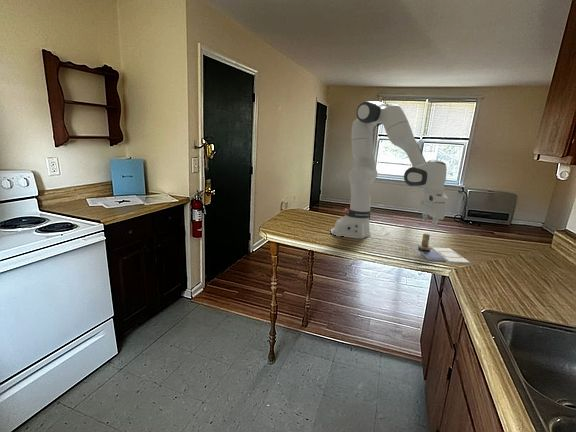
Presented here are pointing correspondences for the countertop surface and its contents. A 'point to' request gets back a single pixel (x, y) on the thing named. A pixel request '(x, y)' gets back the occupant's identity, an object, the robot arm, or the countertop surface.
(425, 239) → the stamp
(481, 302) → the countertop surface
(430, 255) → the stamping board
